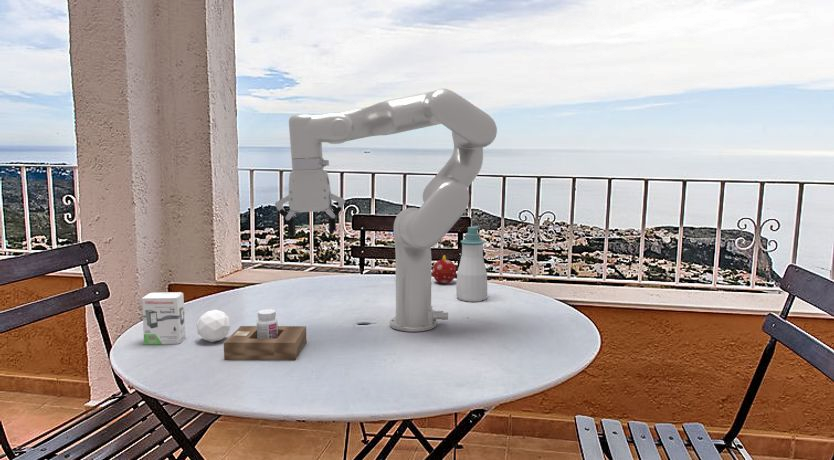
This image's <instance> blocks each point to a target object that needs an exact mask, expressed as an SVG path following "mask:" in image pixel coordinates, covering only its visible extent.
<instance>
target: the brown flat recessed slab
mask: <svg viewBox="0 0 834 460" xmlns="http://www.w3.org/2000/svg"><path fill="white" fill-rule="evenodd" d="M306 344H307V326H305V325H302V326H301V325H299V326H298V325H297V326H295V325H293V326H292V325H290V326H289V325H279V326H278V338H277V339H257V325H241V326H238V328H237V329H236V330H235V331H234V332H233V333H231V335H230V336H229V337H228V338H226V340H224V341H223V359H224V360H225V361H226V360H230V361H235V360H237V361H241V360H242V361H246V360H247V361H251V360H252V361H296V360H297V358H298V356H299V355H300V353H301V352H302V350H303V349H304V347H305V345H306Z"/></svg>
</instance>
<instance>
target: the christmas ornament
mask: <svg viewBox="0 0 834 460" xmlns="http://www.w3.org/2000/svg"><path fill="white" fill-rule="evenodd" d="M432 266H433V267H432V268H431V275H432V277H433V278H434V280H435V281H437V282H438V283H440V284H448V283H451V282H452V281H453V280H454V279H455V278H456V277H457V266H456V265H455V263H454V262H453V261H451V260H449V259H448V258H447V257H446V255H445V254H444V255H443V256H442V259H439V260H437V261H436V262H434V265H432Z"/></svg>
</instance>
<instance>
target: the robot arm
mask: <svg viewBox="0 0 834 460" xmlns="http://www.w3.org/2000/svg"><path fill="white" fill-rule="evenodd" d="M437 125H443V126H444V127H446V128H447V129H449V130H450V131H451V136H452V137H451V138H452V141H453V152H452V154H451V156H450V158H449V160H447V162H446V163H445V164H444V166H443V167H442V168H441V169H440V170H439V171H438V173H436V175H435V176H434V177H433V178H432V179H431V180H430V181H429V182H428V183H427V185H426V186H425V188H424V189H423V192H422V201H423V203H422V205H421V206H420V207H419V208H417V207H408V208H405V209H402V210H401V211H399V213H398V214H397V216H396V217H395V219H394V222H393V240H394V241H393V242H394V248H395V249H394V251H395V316H394V317H392V318H391V319H390V320H389V324H390V327H391V328H393V329H395V330H397V331H401V332H414V333H415V332H425V331H430V330H432V329H435V328H436V327H437V324H438V321H437V320H442V321H444V320H445V321H448V320H449V312H444V311H443V310H435V309H433V305H432V268H433V267H432V266H433V264H432V261H433V260H432V249H431V248H433V247H435V246H436V245H437V244H438V243H439V242H441V240H442V239H443V238H444V237H445V236H446V234H447V233H448V232H449V231H450V230H451V229H452V228H453V226H454V225H455V224H456V223H457V222H458V221H459V219H460V218H461V217H462V216H463V214H464V213H465V212H466V209H467V208H468V206H469V202H470V193H469V189H468V188H469V187H470V186H471V184H472V183H473V182H474V180H475V179H476V178H477V177H478V175H479V173H480V172H481V169H482V166H483V160H484V148H486V147H488V146H490V145H491V144H492V143H493V142H494V141H495V139H496V137H497V132H498V128H497V125H496V122H495V120H494V118H492V117H491V115H489V114H488V113H486V112H485V111H484V110H482V109H480V107H477V106H476V105H474V104H473V103H472V102H470V101H468V99H466V98H464V97H463V96H461V95H459V94H458V93H457V92H455V91H453V90H451V89H448V88H438V89H435V90H432V91H428V92H422V93H418V94H414V95H413V94H412V95H408V96H403V97H398V98H393V99H392V98H391V99H387V100H384V101H380V102H378V103H376V104H375V103H374V104H372V105H369V106H367V107H363V108H362V107H361V108H359V109H352V110H348V111H343V112H335V111H334V112H330V113H324V114H313V113H312V114H310V113H307V114H306V113H305V114H295V115H292V116H290V118H289V119H288V128H289V129H288V130H289V141H290V145H289V146H290V155H291V157H290V158H291V169H292V170H291V171H290V172H289V176H288V177H289V178H288V195H286V196H285V197H283V198H281V199H279V200H278V201H276V202H275V203H274V206H275V208H276V210H277V211H278V212H279V214H280V215H281V216H282V217H283V218H284V219H285V220H286V221H287V222H286V223H287V232H288V233H290V237H293V236H295V235H296V233H297V232H296V231H297V230H296V220H295V218H294V215H296V214H297V213H311V212H312V213H315V212H317V213H318V212H325V213H326V214H327V215H328V216H329V218H328V230H329V234H330V235H334V232H335V231H336V230H337V224H336V222H337V220H336V218H337V216H338V214H339V213H341V211H342V210H343V209H344V205H345V203H346V199H345V198H343V197H341V196H339V195H336V194H334V193H332V192H331V184H330V179H329V174H328V171H327V170H324V168H325V167H327V166H330V161H329V160H328V159H324V157H323V146H322V144H323V143H328V144H332V145H339V144H343V143H347V142H350V141H353V140H355V141H356V140H360V139H364V138H370V137H376V136H377V137H379V136H388V135H389V136H390V135H395V134H400V133H405V132H409V131H410V132H411V131H413V130H419V129H423V128H424V129H425V128H427V127H433V126H437ZM332 201H335V202H336V203H338V205H337V206H336V208H335V209H333V208H332V204H333V202H332ZM287 202H288V208H289V212H288V210H286V209H285V208H284V207H283V206H284V204H286V203H287Z"/></svg>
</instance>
